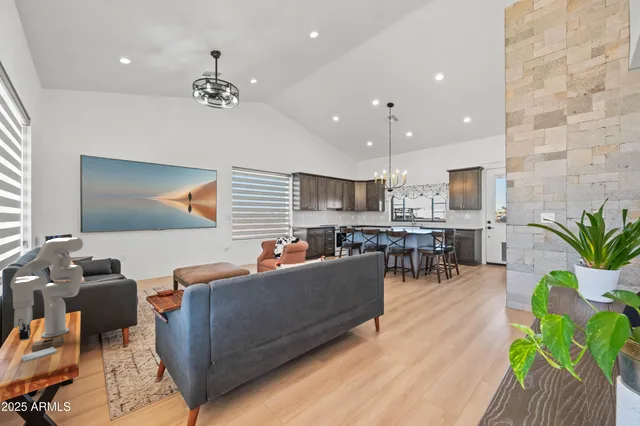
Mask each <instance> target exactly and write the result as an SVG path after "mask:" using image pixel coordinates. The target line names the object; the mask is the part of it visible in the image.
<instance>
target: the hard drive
mask: <svg viewBox="0 0 640 426" xmlns="http://www.w3.org/2000/svg"><path fill="white" fill-rule="evenodd" d="M56 353H58V350H57V349H56V348H55V347H51V348H47V349H41V350H36V351H33V352H30V353H27V354H24V355H21V356H20V359H21V361H23V363H27V362H31V361H33V360H37V359H41V358H43V357H47V356H51V355H54V354H56Z"/></svg>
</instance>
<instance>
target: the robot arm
mask: <svg viewBox="0 0 640 426" xmlns="http://www.w3.org/2000/svg"><path fill="white" fill-rule="evenodd" d="M83 246H84V242H83V239H82V238H80V237H60V238H59V237H58V238H57V237H56V238H52V239H50V240H47V241H45V242H44V243H43V244H42V245H41V247H40V248H39V251H38V253H37V254H36V257H35V258H34V259H33V260H31V261H30V262H28V263H26V264H25V265H23V266H22V267H20V268H18V270H16V271H15V273H14V275H13V277H12V278H11V280H10V284H9V285H10V289H11V290H12V306H13V307H12V308H13V309H14V312H13V313H14V314H13V315H14V316H13V319H14V320H13V327H14V328H15V329H17V327H18V335H19V336H18V340H19V341H21V340H23V339H27V338H28V331H27V325H28V324H29V332H30V336H31V335H32V334H31V333H32V332H31V330H32V329H31V322H32V321H33V315H34V314H33V306H34V305H35V303H34V302H35V301H34V291H38V290H42V291H41V294H42V298H43V304H44V306H43V307H44V332H42V333H41V338H55V337H59V336H62V335H65V334H66V333H68V332H69V331H70V328H68V327H67V326H66V324H67V323H66V303H65V300H64V299H65V298H73V297H75V296H77V295H78V294H79V291H80V287H81V283H82V279H83V274H84V272H83V268H82V266H81V265H79V264H72V257H71V255H70V253H71V254H72V253H75V252H78V251H80V250H82V248H83ZM49 267H51V270H50V273H49V279H50V280H51V281H54V282H50V283H48V278H47V277H46V276H44V275H31V274H33V273H35V272H37V271H41V270H44V269H46V268H49ZM29 275H30V276H29ZM63 298H64V299H63ZM23 325H24V326H23ZM23 327H25V328H23Z"/></svg>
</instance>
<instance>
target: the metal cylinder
mask: <svg viewBox="0 0 640 426" xmlns="http://www.w3.org/2000/svg"><path fill="white" fill-rule="evenodd" d="M23 326H24V325H23ZM23 328H25V327H23ZM27 331H28V338H27V339H23V340H20V341H21V342H25V341H27V340H29V339H30V338H31V335H30V332H29V324H28V325H27Z"/></svg>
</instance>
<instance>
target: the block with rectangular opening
mask: <svg viewBox="0 0 640 426" xmlns="http://www.w3.org/2000/svg"><path fill="white" fill-rule="evenodd" d="M64 338H65V337H64V336H60V337H59V336H57V337H52V338H48V339H42V340H36V341H34V342H33V344H32V345H31V352H37V351H41V350H44V349H48V348H51V347H54V348H55V347H62V345H63V343H64V340H65V339H64Z"/></svg>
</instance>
